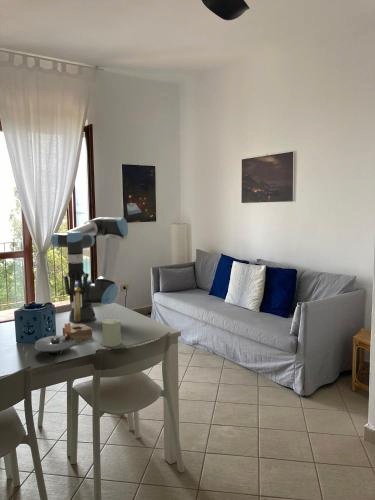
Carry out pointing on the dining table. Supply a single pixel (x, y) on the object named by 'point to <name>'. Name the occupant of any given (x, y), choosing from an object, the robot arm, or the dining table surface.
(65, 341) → the handwheel
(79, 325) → the brown square block
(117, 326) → the can
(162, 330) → the dining table surface
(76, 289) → the hook pin
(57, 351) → the wheel base
